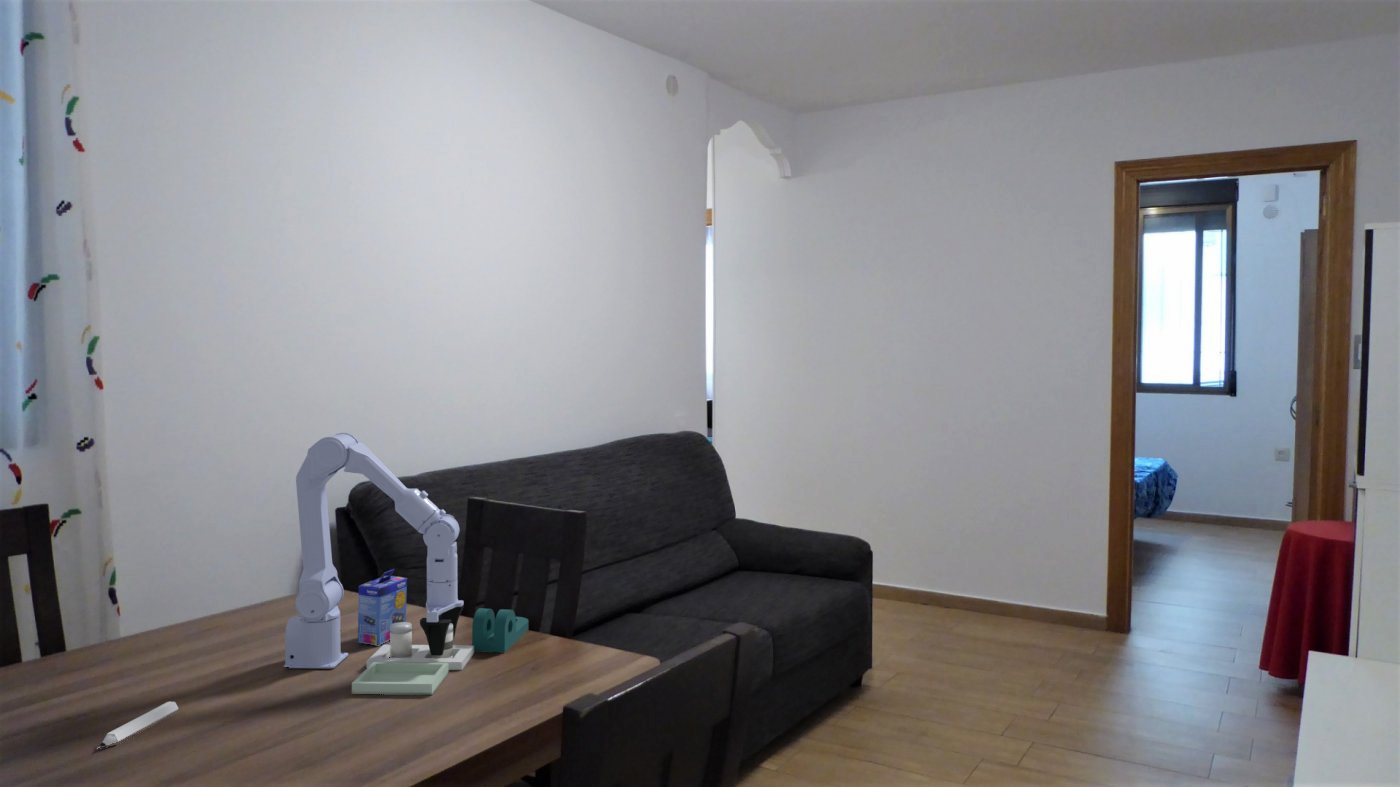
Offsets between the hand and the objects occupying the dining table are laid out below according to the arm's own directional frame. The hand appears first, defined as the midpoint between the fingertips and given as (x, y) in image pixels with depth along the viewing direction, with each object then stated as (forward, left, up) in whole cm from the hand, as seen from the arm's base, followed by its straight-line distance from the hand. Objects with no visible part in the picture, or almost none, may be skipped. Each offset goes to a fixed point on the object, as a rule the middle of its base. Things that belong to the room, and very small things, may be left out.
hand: (442, 648), depth 183 cm
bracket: (+9, +14, -3) cm, 17 cm away
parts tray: (-4, -13, -2) cm, 13 cm away
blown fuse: (0, 0, -2) cm, 2 cm away
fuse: (-8, 0, -2) cm, 8 cm away
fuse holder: (-4, 0, -2) cm, 5 cm away
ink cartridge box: (-16, +13, -3) cm, 21 cm away
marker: (-39, -35, -3) cm, 52 cm away
